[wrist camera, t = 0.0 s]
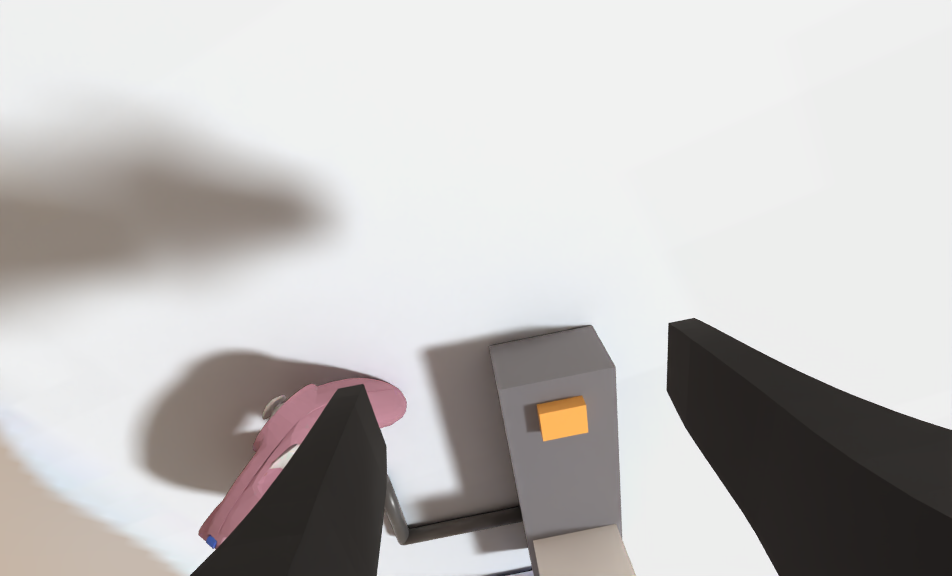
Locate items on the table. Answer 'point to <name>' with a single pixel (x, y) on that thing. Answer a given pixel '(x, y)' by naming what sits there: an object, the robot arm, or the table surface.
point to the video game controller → (289, 446)
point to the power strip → (553, 457)
